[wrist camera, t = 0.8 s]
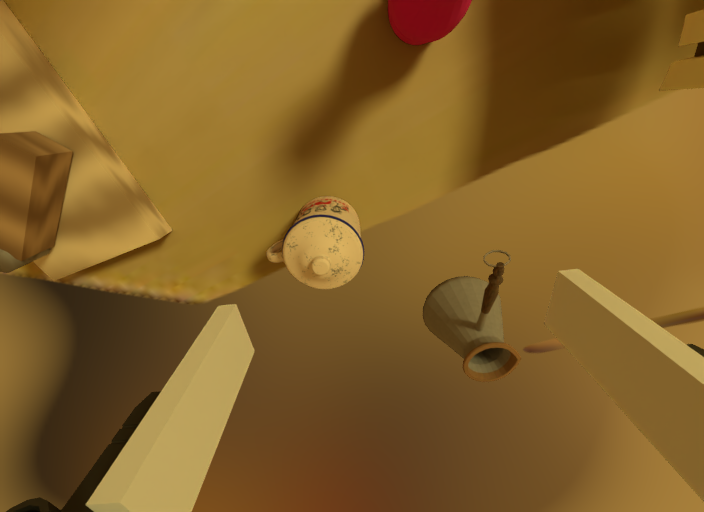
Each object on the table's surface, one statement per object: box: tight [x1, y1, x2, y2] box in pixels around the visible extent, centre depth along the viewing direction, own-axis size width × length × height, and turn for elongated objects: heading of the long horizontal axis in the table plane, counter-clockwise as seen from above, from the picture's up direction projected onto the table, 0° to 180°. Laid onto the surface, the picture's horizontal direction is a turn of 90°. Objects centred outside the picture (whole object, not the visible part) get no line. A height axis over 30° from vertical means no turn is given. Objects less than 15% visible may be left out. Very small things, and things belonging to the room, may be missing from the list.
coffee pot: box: [423, 250, 521, 382], centre depth 35 cm, size 21×12×15 cm, turn 13°
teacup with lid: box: [266, 196, 364, 289], centre depth 33 cm, size 12×9×12 cm
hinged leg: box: [0, 131, 73, 273], centre depth 31 cm, size 16×4×4 cm, turn 146°
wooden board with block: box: [0, 0, 172, 281], centre depth 31 cm, size 26×18×7 cm
